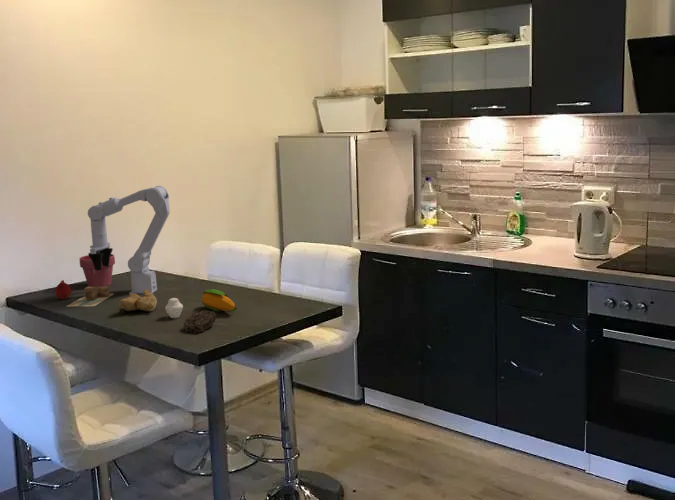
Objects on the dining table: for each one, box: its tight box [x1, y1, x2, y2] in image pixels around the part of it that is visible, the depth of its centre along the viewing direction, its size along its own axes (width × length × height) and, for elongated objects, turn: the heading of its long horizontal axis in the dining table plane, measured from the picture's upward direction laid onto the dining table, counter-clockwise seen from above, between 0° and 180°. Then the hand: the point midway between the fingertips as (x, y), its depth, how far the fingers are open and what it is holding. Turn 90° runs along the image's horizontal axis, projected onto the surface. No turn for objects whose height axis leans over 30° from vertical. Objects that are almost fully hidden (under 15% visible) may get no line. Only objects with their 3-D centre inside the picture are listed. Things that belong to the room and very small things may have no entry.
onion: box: [54, 280, 72, 300], centre depth 288 cm, size 6×6×8 cm
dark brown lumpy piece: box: [183, 310, 218, 333], centre depth 244 cm, size 12×10×5 cm
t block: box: [83, 286, 111, 301], centre depth 288 cm, size 9×8×4 cm
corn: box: [201, 288, 237, 313], centre depth 265 cm, size 7×8×20 cm
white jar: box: [164, 297, 184, 319], centre depth 258 cm, size 6×6×7 cm
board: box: [67, 293, 114, 307], centre depth 285 cm, size 11×19×1 cm, turn 174°
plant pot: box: [79, 253, 116, 287], centre depth 310 cm, size 14×14×13 cm
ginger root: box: [118, 289, 158, 312], centre depth 269 cm, size 16×16×8 cm
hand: (102, 268), depth 296 cm, fingers open, 7 cm apart
